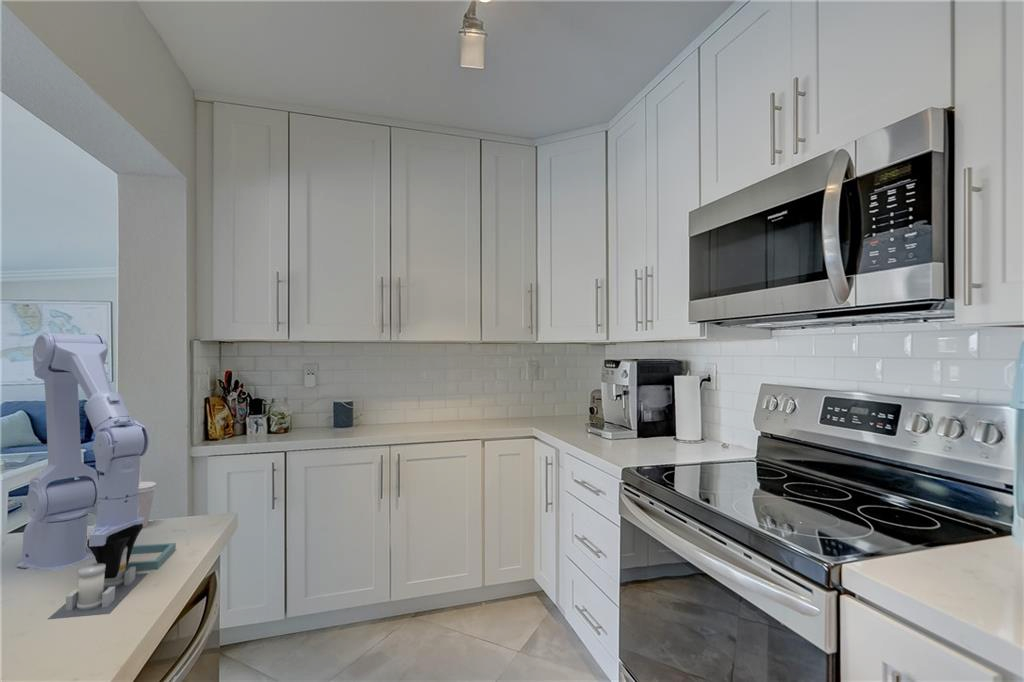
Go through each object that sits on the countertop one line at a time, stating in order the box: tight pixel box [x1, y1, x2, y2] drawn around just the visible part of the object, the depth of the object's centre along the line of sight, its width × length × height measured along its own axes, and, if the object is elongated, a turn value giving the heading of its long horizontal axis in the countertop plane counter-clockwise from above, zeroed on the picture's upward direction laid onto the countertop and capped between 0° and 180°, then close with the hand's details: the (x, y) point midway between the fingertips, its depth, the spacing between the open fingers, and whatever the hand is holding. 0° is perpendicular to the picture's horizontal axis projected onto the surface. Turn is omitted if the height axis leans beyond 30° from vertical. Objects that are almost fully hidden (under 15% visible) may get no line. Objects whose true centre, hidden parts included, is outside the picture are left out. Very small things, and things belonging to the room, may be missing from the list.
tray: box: [126, 542, 177, 572], centre depth 100 cm, size 10×10×2 cm
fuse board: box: [47, 567, 149, 620], centre depth 86 cm, size 15×8×3 cm, turn 16°
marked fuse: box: [104, 546, 128, 588], centre depth 90 cm, size 3×3×6 cm
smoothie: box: [138, 465, 157, 529], centre depth 120 cm, size 6×6×14 cm
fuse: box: [77, 562, 106, 611], centre depth 83 cm, size 3×3×6 cm
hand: (114, 572), depth 90 cm, fingers closed on marked fuse, 3 cm apart
